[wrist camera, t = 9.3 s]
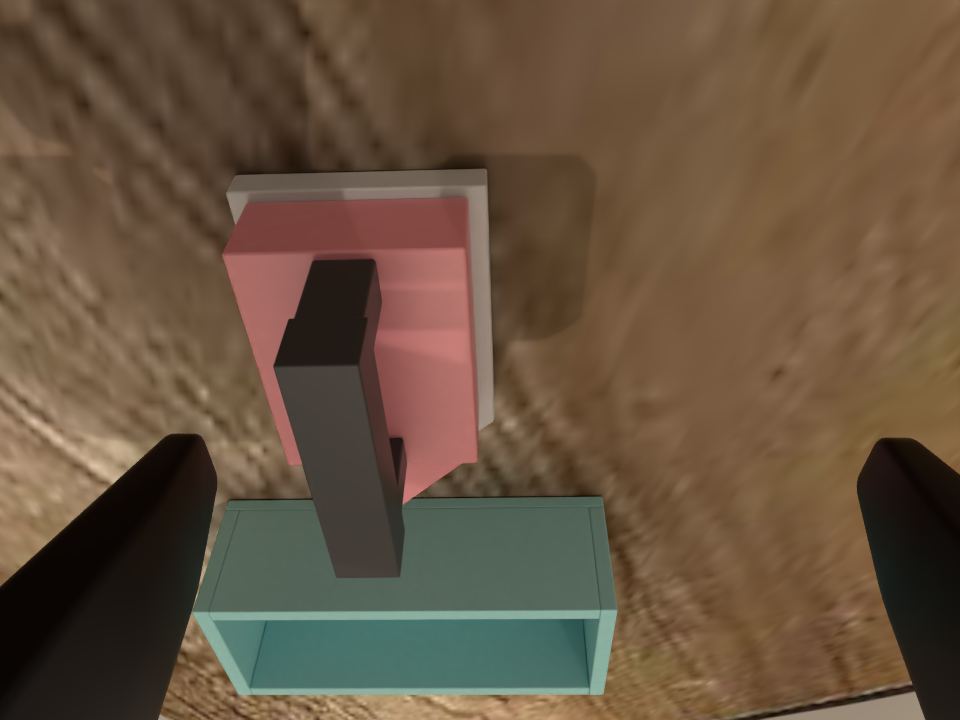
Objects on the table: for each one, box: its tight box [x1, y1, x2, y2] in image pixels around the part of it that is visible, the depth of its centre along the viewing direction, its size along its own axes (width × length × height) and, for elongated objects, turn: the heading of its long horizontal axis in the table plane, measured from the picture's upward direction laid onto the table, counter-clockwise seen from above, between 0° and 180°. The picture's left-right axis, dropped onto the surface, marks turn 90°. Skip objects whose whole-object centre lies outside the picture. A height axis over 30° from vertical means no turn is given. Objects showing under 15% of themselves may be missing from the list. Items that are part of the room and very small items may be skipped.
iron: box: [222, 169, 494, 578], centre depth 22 cm, size 12×7×7 cm, turn 2°
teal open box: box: [192, 497, 617, 695], centre depth 31 cm, size 15×7×5 cm, turn 92°
